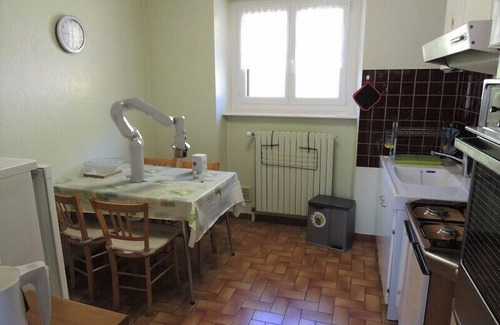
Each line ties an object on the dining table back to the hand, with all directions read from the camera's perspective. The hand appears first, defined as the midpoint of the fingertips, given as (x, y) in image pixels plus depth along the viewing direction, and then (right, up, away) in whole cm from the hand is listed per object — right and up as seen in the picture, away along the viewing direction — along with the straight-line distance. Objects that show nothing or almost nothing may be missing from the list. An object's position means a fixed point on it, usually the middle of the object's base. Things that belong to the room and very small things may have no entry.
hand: (180, 156), depth 263 cm
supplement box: (+11, -13, +20) cm, 27 cm away
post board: (+7, -17, +1) cm, 19 cm away
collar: (0, -1, 0) cm, 1 cm away
